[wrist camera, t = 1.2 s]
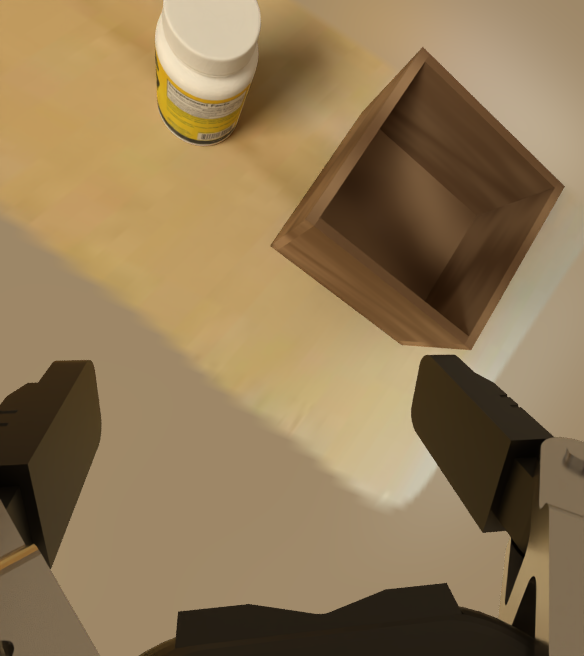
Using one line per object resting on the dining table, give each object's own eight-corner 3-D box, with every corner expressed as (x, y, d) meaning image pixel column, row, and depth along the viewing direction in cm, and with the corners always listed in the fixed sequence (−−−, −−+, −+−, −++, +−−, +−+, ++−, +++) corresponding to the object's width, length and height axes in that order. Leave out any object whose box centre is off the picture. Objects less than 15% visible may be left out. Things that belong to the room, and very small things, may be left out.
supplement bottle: (177, 50, 26) (184, -76, 18) (250, 94, 27) (288, -6, 19) (142, 122, 25) (133, 25, 17) (219, 163, 26) (243, 91, 18)
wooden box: (401, 344, 30) (471, 350, 23) (270, 245, 27) (305, 219, 21) (479, 215, 32) (565, 185, 25) (363, 110, 29) (423, 45, 22)
